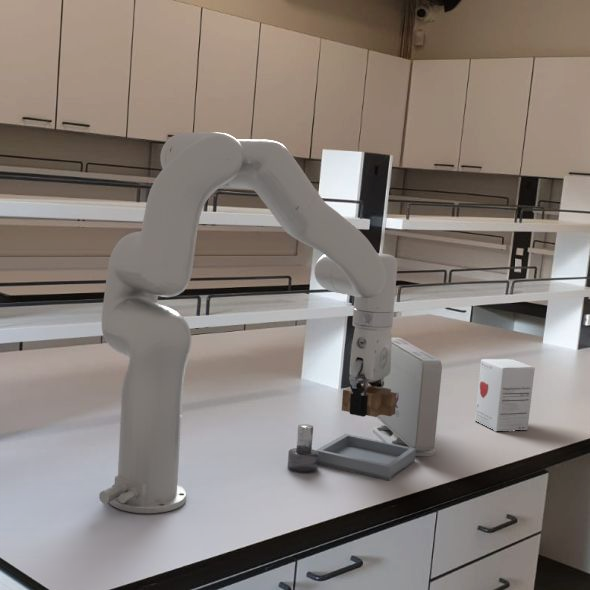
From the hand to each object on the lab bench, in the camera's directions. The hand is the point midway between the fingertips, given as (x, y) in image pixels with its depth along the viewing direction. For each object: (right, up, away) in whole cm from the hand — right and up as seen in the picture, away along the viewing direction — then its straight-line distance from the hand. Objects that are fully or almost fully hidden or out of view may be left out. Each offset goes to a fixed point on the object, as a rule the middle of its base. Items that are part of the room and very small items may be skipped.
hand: (365, 410), depth 166 cm
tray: (0, -10, +1) cm, 10 cm away
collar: (0, 0, 0) cm, 0 cm away
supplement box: (+34, -8, +34) cm, 49 cm away
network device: (+9, -9, +16) cm, 21 cm away
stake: (-12, -10, -5) cm, 17 cm away
